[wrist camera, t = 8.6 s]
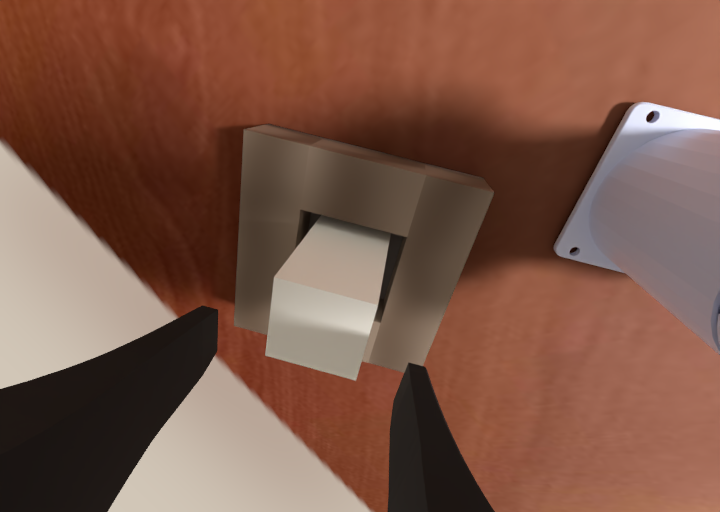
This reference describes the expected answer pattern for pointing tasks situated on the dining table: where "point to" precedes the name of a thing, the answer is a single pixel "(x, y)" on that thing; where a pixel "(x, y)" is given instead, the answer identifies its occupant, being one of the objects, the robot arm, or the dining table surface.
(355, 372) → the peg
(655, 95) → the dining table surface
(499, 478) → the dining table surface
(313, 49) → the dining table surface
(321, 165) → the socket block
